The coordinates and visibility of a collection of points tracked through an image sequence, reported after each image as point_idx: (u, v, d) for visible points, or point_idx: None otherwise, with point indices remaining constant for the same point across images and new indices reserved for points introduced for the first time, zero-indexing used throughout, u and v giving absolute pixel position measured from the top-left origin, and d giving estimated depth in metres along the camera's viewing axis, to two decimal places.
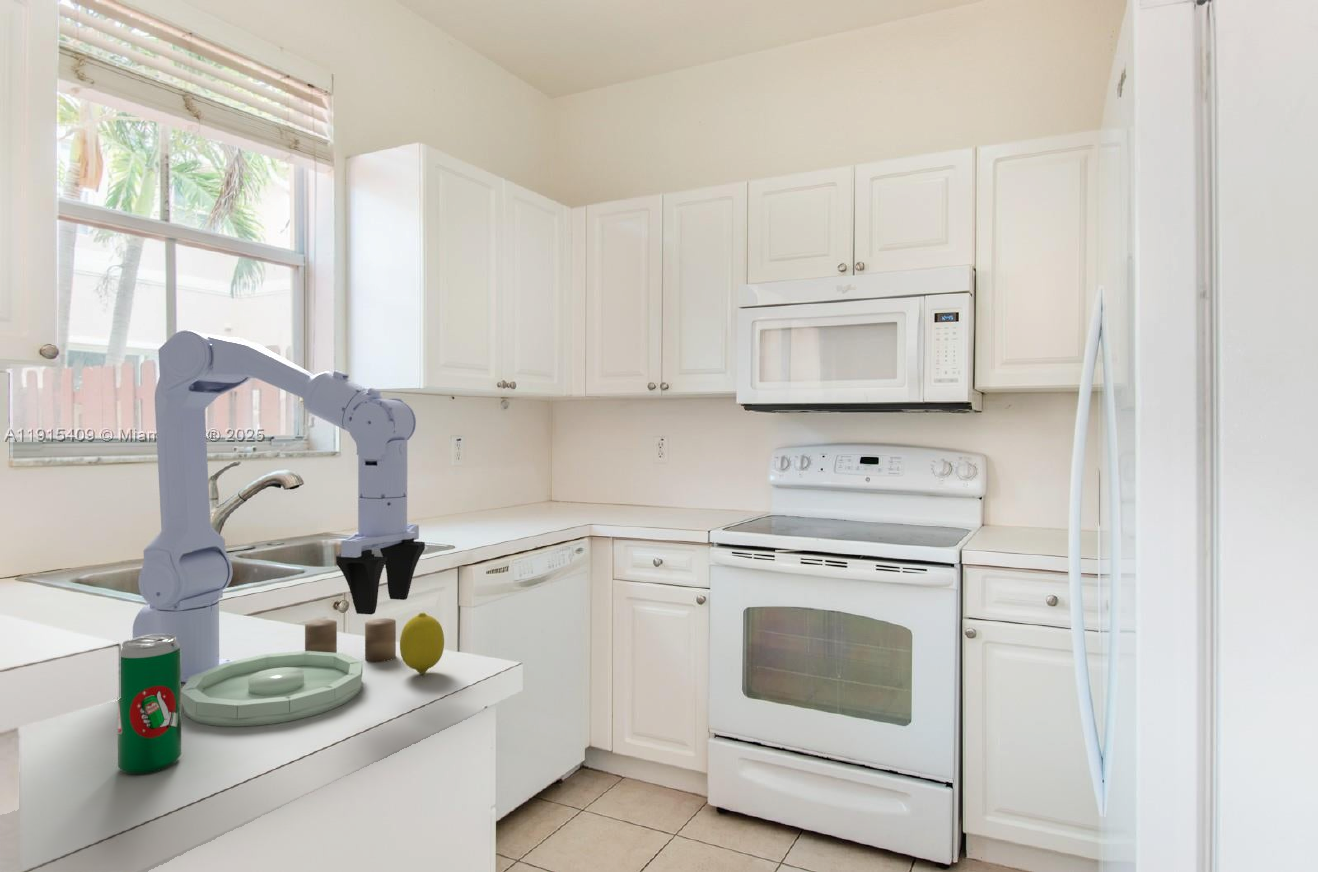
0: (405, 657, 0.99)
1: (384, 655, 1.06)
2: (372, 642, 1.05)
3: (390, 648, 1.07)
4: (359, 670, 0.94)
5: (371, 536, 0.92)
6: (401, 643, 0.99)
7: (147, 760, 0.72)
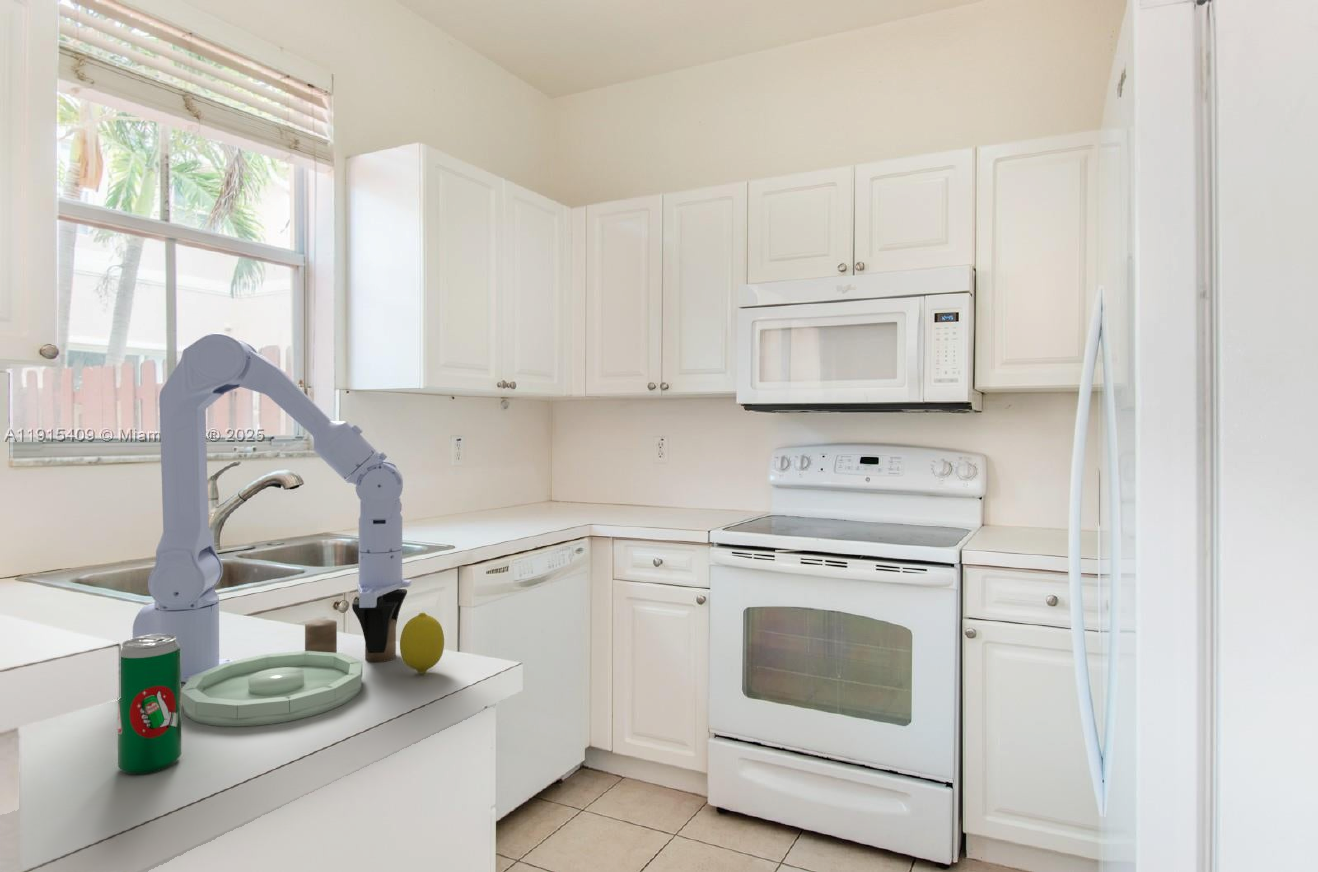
0: (405, 657, 0.99)
1: (384, 655, 1.06)
2: None
3: (390, 648, 1.07)
4: (359, 670, 0.94)
5: (377, 586, 1.04)
6: (401, 643, 0.99)
7: (147, 760, 0.72)
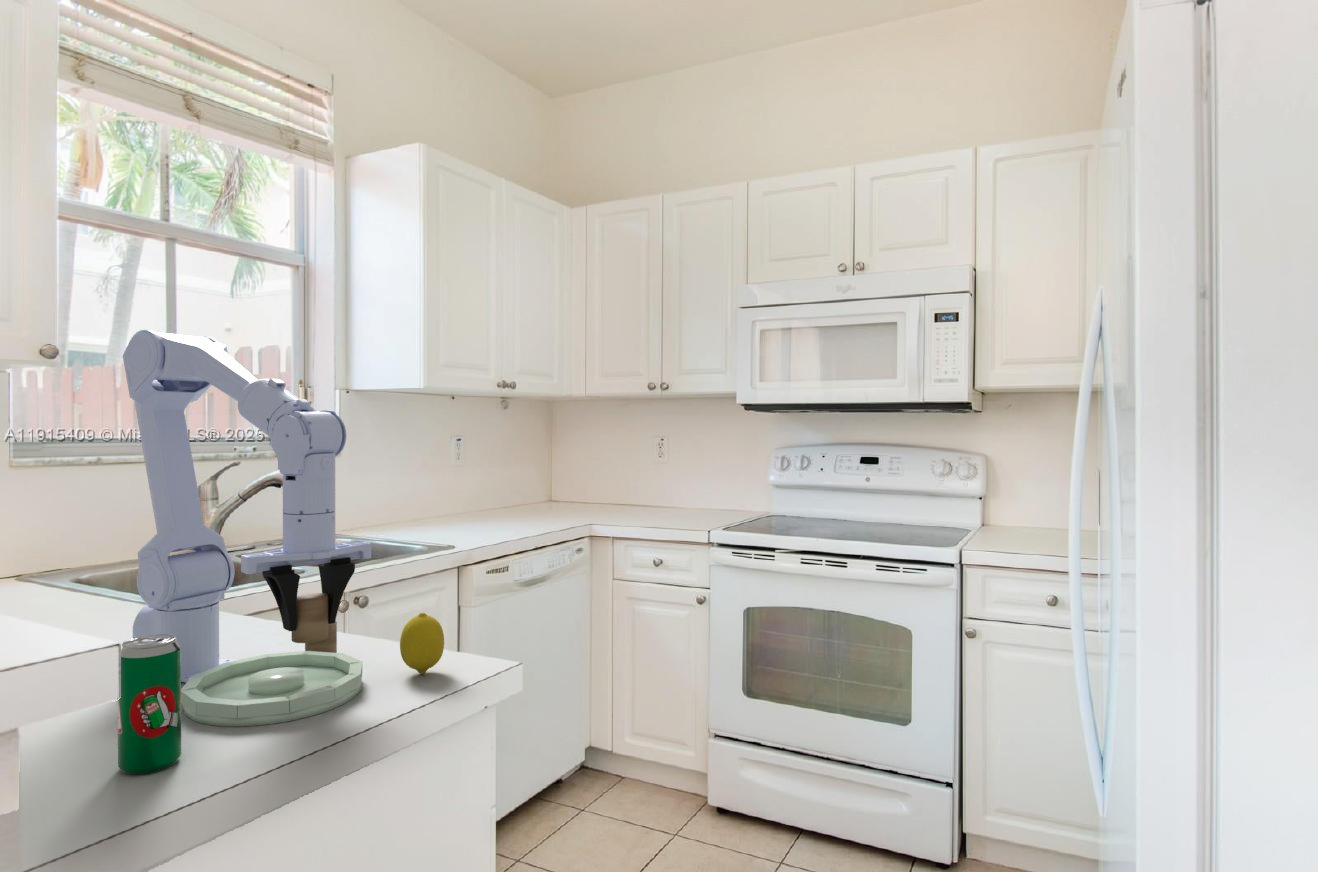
0: (405, 656, 0.99)
1: (298, 636, 0.90)
2: None
3: (305, 629, 0.90)
4: (359, 670, 0.94)
5: (283, 553, 0.90)
6: (401, 643, 0.99)
7: (147, 760, 0.72)
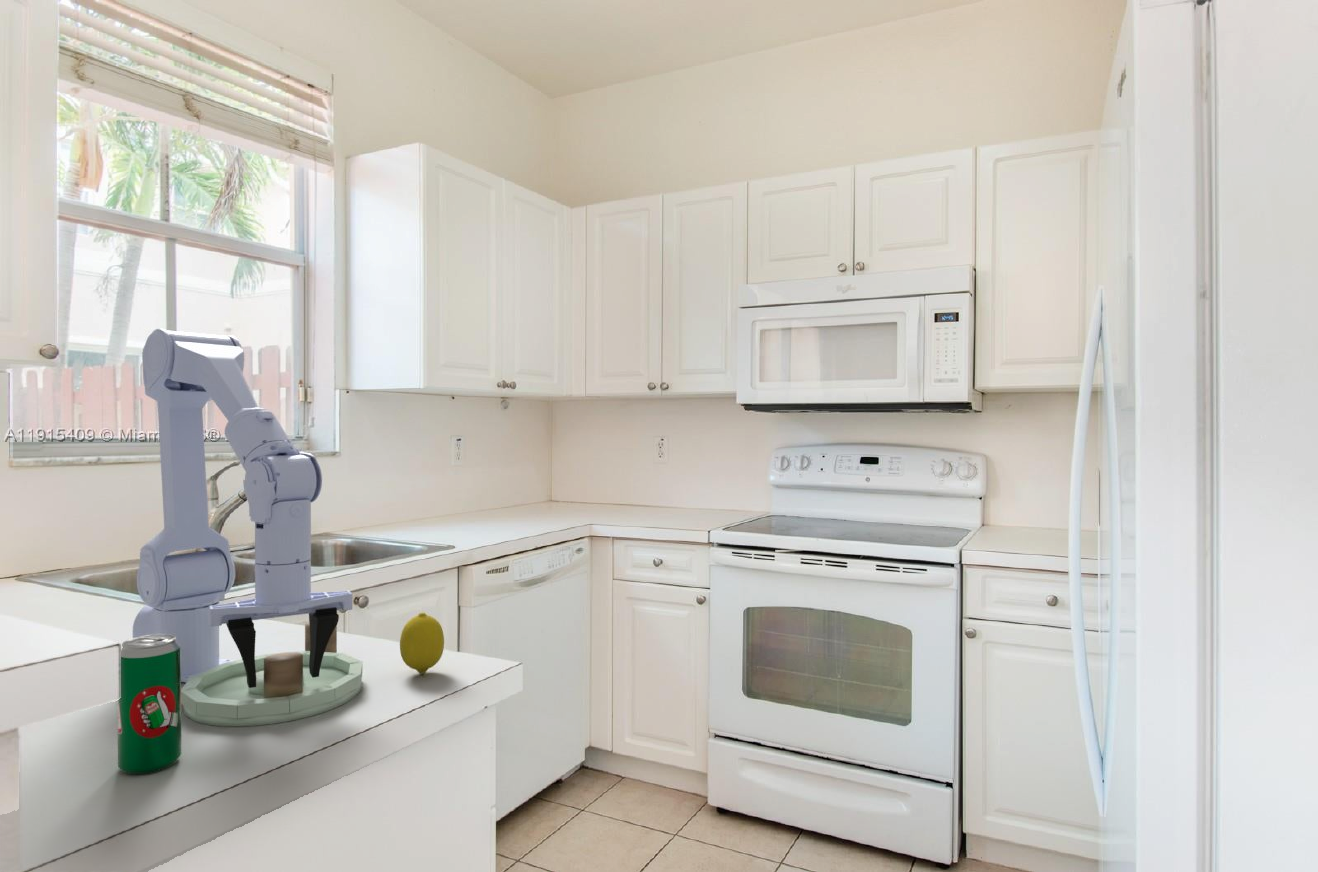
0: (405, 657, 0.99)
1: None
2: None
3: (273, 693, 0.86)
4: (359, 670, 0.94)
5: (253, 604, 0.86)
6: (401, 643, 0.99)
7: (147, 760, 0.72)
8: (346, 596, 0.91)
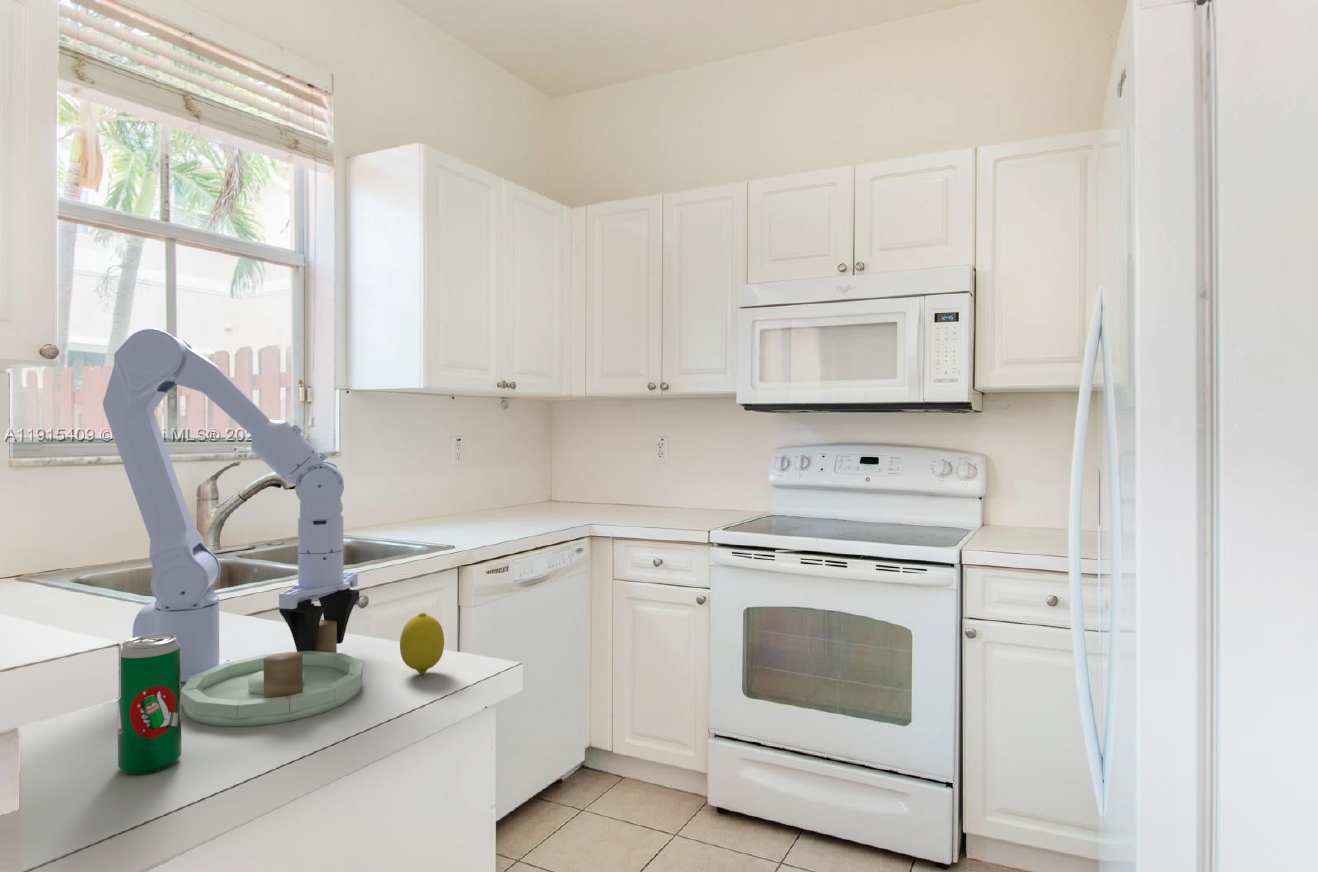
0: (405, 657, 0.99)
1: None
2: None
3: (273, 693, 0.86)
4: (359, 670, 0.94)
5: (308, 588, 1.03)
6: (401, 643, 0.99)
7: (147, 760, 0.72)
8: (355, 575, 1.13)
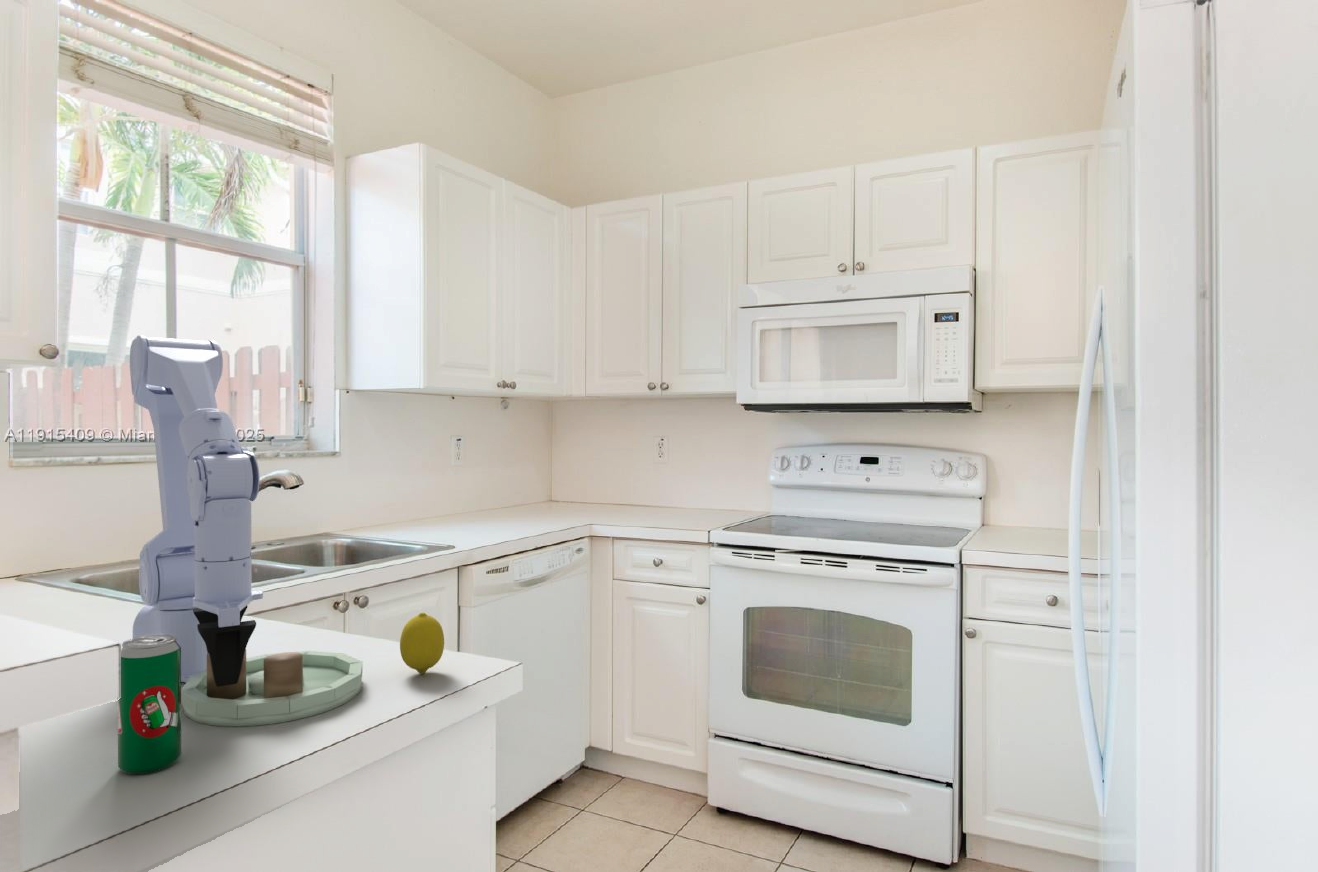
0: (405, 656, 0.99)
1: None
2: None
3: (274, 693, 0.86)
4: (359, 670, 0.94)
5: (228, 601, 0.87)
6: (401, 643, 0.99)
7: (147, 760, 0.72)
8: None
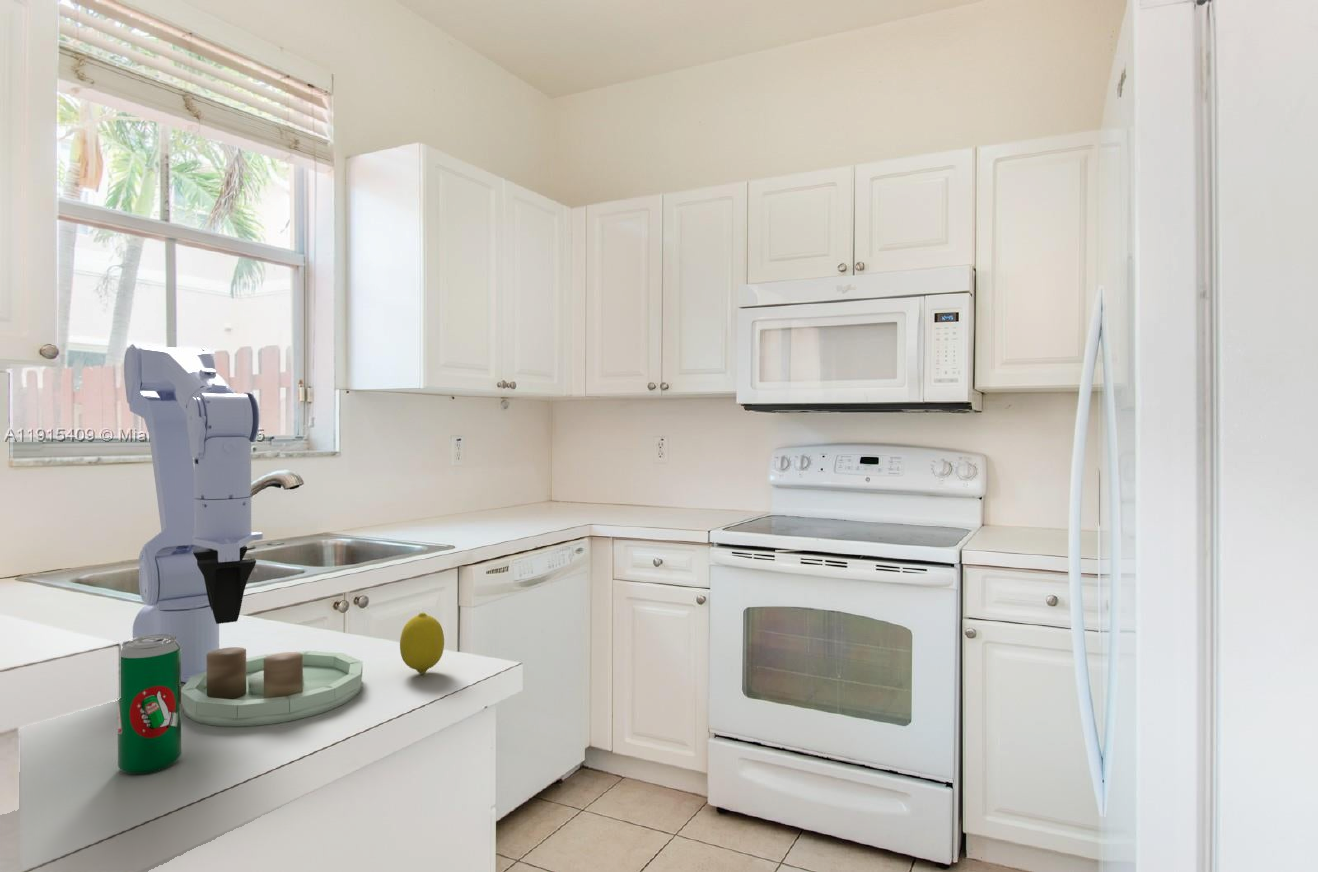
0: (405, 657, 0.99)
1: None
2: None
3: (274, 693, 0.86)
4: (359, 670, 0.94)
5: (228, 539, 0.87)
6: (401, 643, 0.99)
7: (147, 760, 0.72)
8: None
